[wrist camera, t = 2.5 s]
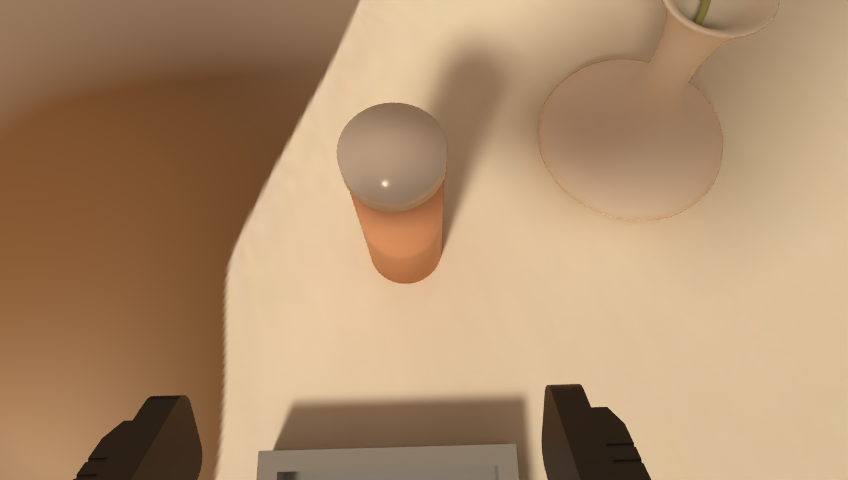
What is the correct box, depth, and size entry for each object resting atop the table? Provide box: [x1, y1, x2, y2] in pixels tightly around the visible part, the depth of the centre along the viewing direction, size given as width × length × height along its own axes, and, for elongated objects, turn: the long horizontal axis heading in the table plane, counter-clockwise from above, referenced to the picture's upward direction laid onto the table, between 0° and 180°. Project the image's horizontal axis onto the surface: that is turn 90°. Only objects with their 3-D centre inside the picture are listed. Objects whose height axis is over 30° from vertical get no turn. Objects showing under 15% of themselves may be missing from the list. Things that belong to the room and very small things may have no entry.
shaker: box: [337, 103, 447, 284], centre depth 29 cm, size 5×5×12 cm
